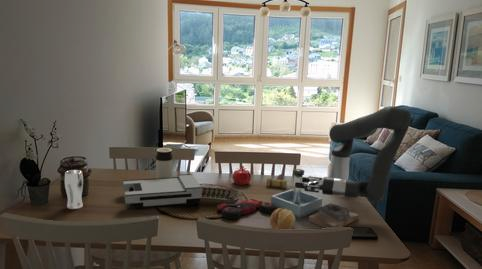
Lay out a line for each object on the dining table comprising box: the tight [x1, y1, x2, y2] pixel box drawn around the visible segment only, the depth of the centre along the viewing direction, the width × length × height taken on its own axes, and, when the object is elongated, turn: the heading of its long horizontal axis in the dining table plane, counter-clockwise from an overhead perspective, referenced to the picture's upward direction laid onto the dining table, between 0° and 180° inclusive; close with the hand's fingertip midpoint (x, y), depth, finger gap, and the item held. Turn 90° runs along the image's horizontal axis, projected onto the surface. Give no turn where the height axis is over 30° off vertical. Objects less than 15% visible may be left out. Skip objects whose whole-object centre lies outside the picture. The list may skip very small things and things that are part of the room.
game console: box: [122, 173, 203, 210], centre depth 174 cm, size 21×32×8 cm, turn 109°
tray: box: [270, 188, 323, 219], centre depth 172 cm, size 16×16×5 cm
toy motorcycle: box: [216, 198, 277, 220], centre depth 166 cm, size 25×5×16 cm
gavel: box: [265, 174, 288, 189], centre depth 207 cm, size 21×5×10 cm
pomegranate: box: [231, 165, 252, 186], centre depth 201 cm, size 10×10×9 cm
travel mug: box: [155, 147, 173, 178], centre depth 193 cm, size 8×8×18 cm
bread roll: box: [269, 208, 297, 230], centre depth 149 cm, size 10×15×8 cm, turn 168°
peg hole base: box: [308, 202, 359, 229], centre depth 161 cm, size 18×12×5 cm, turn 134°
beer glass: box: [64, 169, 84, 210], centre depth 161 cm, size 7×7×15 cm
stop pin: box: [292, 168, 305, 206], centre depth 171 cm, size 5×5×16 cm
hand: (296, 181), depth 170 cm, fingers open, 8 cm apart
